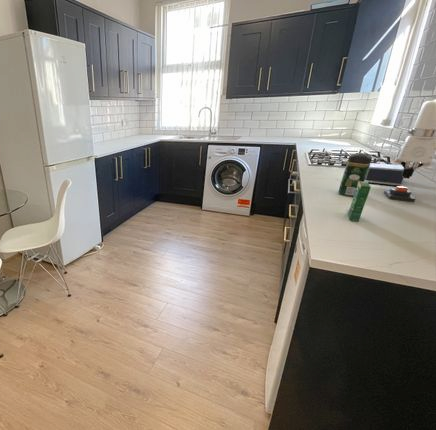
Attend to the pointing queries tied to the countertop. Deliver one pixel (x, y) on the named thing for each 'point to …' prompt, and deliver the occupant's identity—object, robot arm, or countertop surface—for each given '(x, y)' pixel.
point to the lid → (386, 167)
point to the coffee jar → (354, 173)
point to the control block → (399, 195)
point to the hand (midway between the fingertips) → (405, 177)
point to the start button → (401, 188)
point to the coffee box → (359, 200)
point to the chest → (384, 177)
